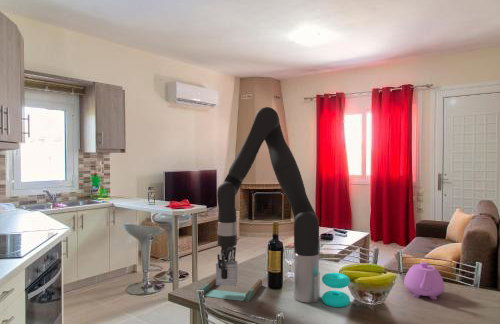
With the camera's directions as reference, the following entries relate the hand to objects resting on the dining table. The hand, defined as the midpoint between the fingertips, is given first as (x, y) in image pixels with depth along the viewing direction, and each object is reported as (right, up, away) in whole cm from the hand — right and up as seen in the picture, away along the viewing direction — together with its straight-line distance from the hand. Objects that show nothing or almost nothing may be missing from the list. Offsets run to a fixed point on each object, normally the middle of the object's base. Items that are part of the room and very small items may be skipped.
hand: (227, 276), depth 142 cm
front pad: (0, -7, 0) cm, 7 cm away
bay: (+2, -7, +5) cm, 9 cm away
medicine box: (0, -3, 0) cm, 3 cm away
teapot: (+77, -7, -1) cm, 77 cm away
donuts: (+41, -8, -8) cm, 42 cm away
